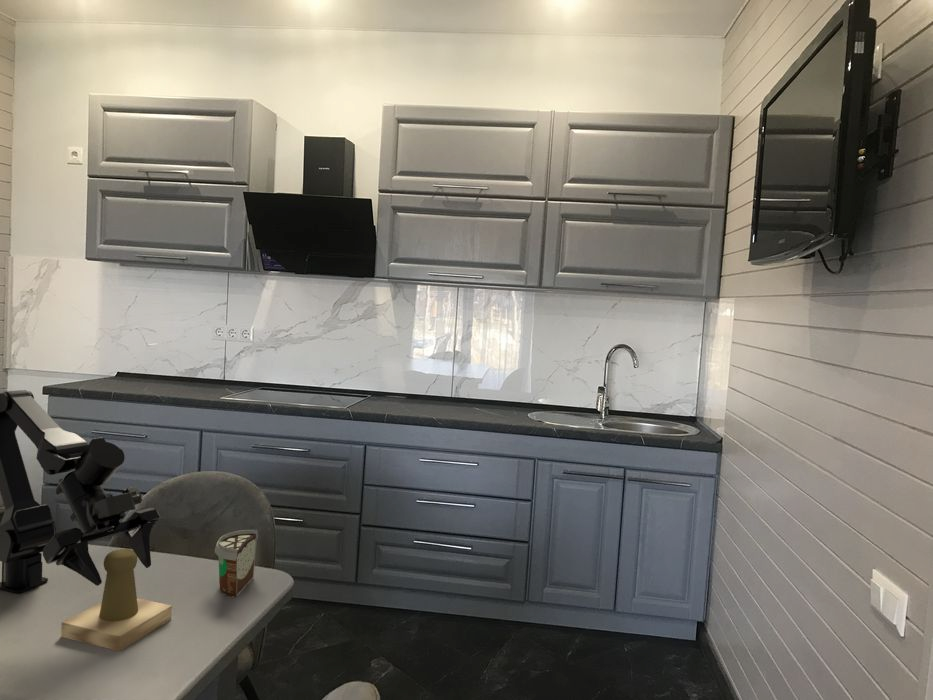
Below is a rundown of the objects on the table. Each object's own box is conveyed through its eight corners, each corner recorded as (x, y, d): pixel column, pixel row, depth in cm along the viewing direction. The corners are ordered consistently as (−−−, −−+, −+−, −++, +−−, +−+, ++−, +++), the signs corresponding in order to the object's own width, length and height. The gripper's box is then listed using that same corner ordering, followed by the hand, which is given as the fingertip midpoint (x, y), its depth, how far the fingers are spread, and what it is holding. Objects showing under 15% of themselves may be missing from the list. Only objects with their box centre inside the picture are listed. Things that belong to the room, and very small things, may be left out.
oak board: (61, 636, 110) (61, 622, 110) (117, 606, 121) (117, 593, 121) (119, 651, 107) (119, 636, 107) (171, 619, 118) (171, 605, 118)
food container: (227, 572, 140) (229, 527, 139) (256, 574, 139) (258, 529, 139) (202, 597, 127) (204, 548, 127) (233, 600, 127) (235, 550, 126)
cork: (106, 624, 110) (108, 561, 109) (93, 612, 114) (95, 550, 113) (144, 613, 114) (146, 552, 114) (130, 602, 118) (132, 542, 118)
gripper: (54, 485, 106) (94, 568, 102) (156, 465, 123) (194, 535, 118) (25, 522, 110) (62, 603, 106) (127, 498, 127) (163, 567, 122)
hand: (125, 575), depth 113 cm, fingers open, 9 cm apart
